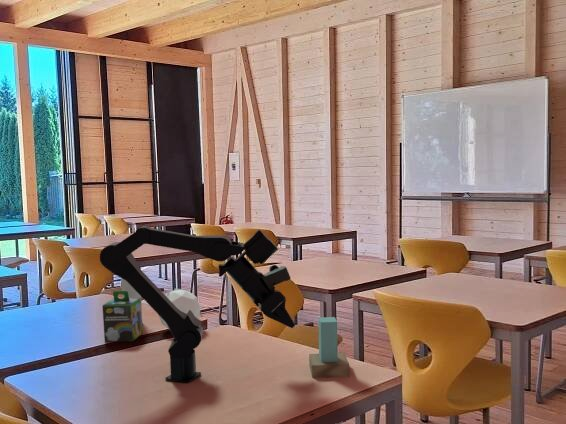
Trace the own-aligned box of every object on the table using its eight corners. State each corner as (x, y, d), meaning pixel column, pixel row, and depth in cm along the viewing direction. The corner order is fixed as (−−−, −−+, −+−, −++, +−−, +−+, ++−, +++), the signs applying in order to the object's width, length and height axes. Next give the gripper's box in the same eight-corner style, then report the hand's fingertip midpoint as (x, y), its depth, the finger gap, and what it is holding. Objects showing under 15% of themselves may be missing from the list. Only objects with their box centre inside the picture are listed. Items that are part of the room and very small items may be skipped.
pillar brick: (321, 362, 144) (320, 322, 142) (319, 356, 147) (318, 317, 146) (337, 361, 144) (337, 321, 143) (334, 355, 148) (334, 317, 147)
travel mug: (118, 325, 196) (115, 265, 195) (132, 320, 202) (129, 262, 201) (132, 327, 193) (130, 266, 192) (146, 322, 199) (143, 263, 198)
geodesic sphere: (169, 322, 175) (188, 281, 181) (139, 316, 184) (158, 277, 190) (197, 341, 185) (215, 302, 191) (168, 335, 193) (185, 298, 199)
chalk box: (143, 333, 185) (141, 287, 184) (133, 342, 176) (131, 293, 175) (114, 333, 186) (112, 287, 185) (103, 342, 177) (101, 293, 176)
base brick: (312, 379, 142) (311, 365, 141) (309, 367, 151) (309, 353, 150) (349, 378, 142) (349, 364, 142) (344, 366, 151) (344, 352, 151)
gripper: (277, 256, 135) (322, 306, 137) (266, 252, 153) (305, 296, 155) (242, 290, 134) (287, 339, 135) (234, 282, 152) (275, 325, 154)
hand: (290, 323), depth 145 cm, fingers open, 9 cm apart
